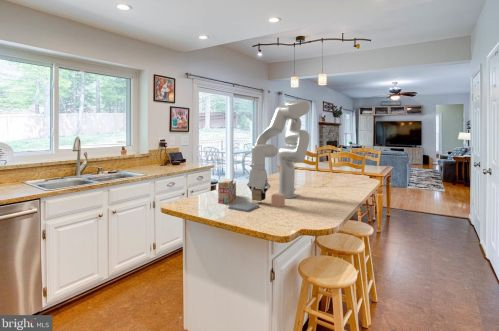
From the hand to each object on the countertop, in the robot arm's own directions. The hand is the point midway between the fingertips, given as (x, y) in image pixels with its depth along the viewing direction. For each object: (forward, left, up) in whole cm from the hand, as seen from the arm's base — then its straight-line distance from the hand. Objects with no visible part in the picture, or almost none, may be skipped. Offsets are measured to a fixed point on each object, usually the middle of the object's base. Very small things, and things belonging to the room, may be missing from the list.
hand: (258, 198), depth 178 cm
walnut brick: (0, 0, -1) cm, 1 cm away
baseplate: (+14, -1, -3) cm, 14 cm away
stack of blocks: (+2, -20, -3) cm, 21 cm away
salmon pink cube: (-1, +12, -3) cm, 12 cm away
